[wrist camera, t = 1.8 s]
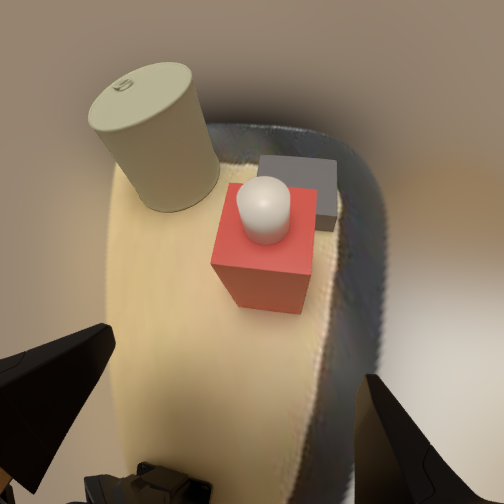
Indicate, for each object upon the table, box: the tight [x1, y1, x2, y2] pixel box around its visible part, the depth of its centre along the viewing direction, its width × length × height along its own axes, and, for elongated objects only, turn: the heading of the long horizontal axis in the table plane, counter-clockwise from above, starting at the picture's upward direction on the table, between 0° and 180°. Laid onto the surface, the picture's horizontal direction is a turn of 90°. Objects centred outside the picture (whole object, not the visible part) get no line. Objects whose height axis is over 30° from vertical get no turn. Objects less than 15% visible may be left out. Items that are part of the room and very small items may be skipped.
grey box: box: [257, 155, 337, 232], centre depth 26 cm, size 6×7×3 cm
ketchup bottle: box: [210, 176, 317, 314], centre depth 18 cm, size 5×5×12 cm
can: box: [88, 62, 220, 212], centre depth 24 cm, size 9×9×12 cm
